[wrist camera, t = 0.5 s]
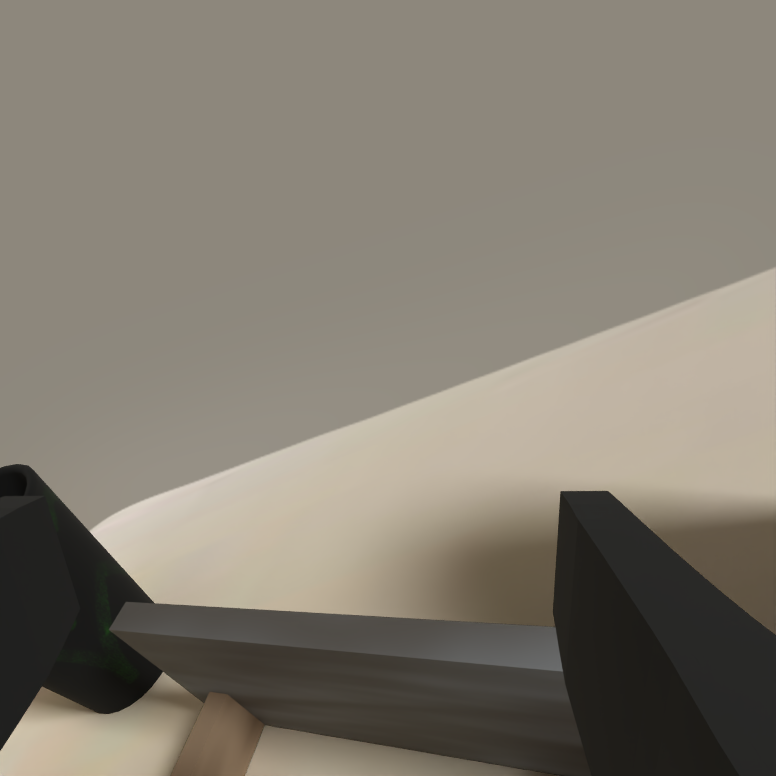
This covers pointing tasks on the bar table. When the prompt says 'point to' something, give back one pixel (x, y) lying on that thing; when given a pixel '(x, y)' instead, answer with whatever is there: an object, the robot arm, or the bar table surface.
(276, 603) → the bar table surface
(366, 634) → the display bay
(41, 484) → the cup
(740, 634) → the robot arm
